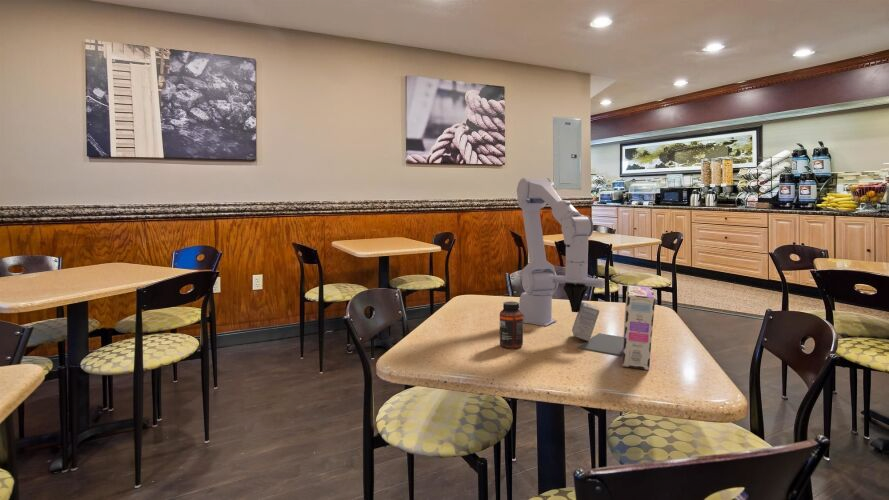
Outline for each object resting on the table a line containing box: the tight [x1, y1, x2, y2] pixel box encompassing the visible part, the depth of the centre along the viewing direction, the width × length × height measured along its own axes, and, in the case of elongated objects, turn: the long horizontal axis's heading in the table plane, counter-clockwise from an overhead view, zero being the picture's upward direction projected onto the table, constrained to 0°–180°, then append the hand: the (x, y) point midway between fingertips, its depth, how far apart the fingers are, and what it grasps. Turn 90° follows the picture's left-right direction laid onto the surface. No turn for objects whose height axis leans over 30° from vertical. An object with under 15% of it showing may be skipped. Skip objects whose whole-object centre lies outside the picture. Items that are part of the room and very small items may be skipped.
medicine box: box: [571, 301, 600, 342], centre depth 132 cm, size 8×4×9 cm, turn 168°
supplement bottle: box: [499, 300, 524, 350], centre depth 127 cm, size 6×6×11 cm
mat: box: [576, 333, 624, 357], centre depth 128 cm, size 11×16×1 cm
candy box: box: [622, 284, 656, 371], centre depth 115 cm, size 14×6×16 cm, turn 160°
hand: (575, 311), depth 133 cm, fingers closed
